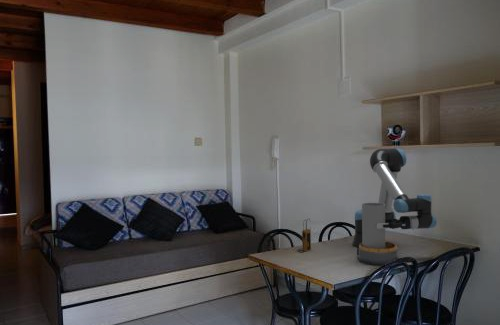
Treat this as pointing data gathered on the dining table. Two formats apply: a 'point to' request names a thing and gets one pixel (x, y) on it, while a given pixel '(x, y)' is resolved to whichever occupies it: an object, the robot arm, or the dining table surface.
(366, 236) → the cylinder vase
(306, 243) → the multimeter
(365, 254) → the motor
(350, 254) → the dining table surface
